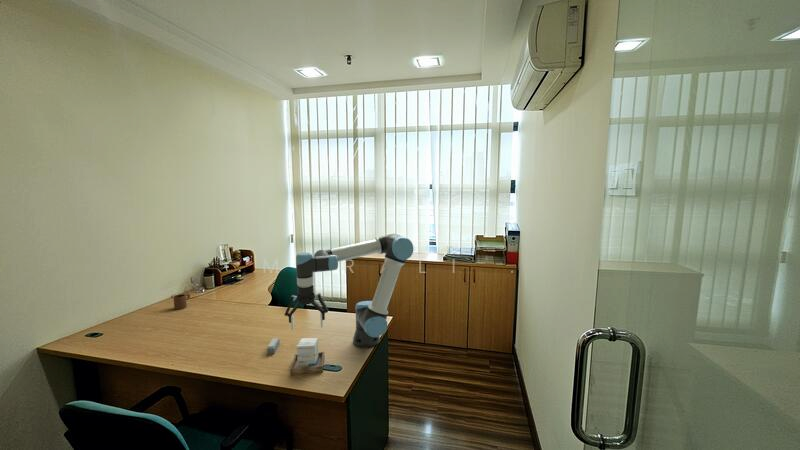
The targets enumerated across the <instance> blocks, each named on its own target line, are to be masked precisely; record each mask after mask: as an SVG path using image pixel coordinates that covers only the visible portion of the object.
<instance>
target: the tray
mask: <svg viewBox="0 0 800 450" xmlns="http://www.w3.org/2000/svg"><path fill="white" fill-rule="evenodd" d="M318 356H319V360H318V363H317V366H308V367H298V360H297V353H296V354H295V353H294V357H293V360H292V364H291V366H290V376H296V375H307V374H316V373H323V372H324V364H325V351H318Z"/></svg>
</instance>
